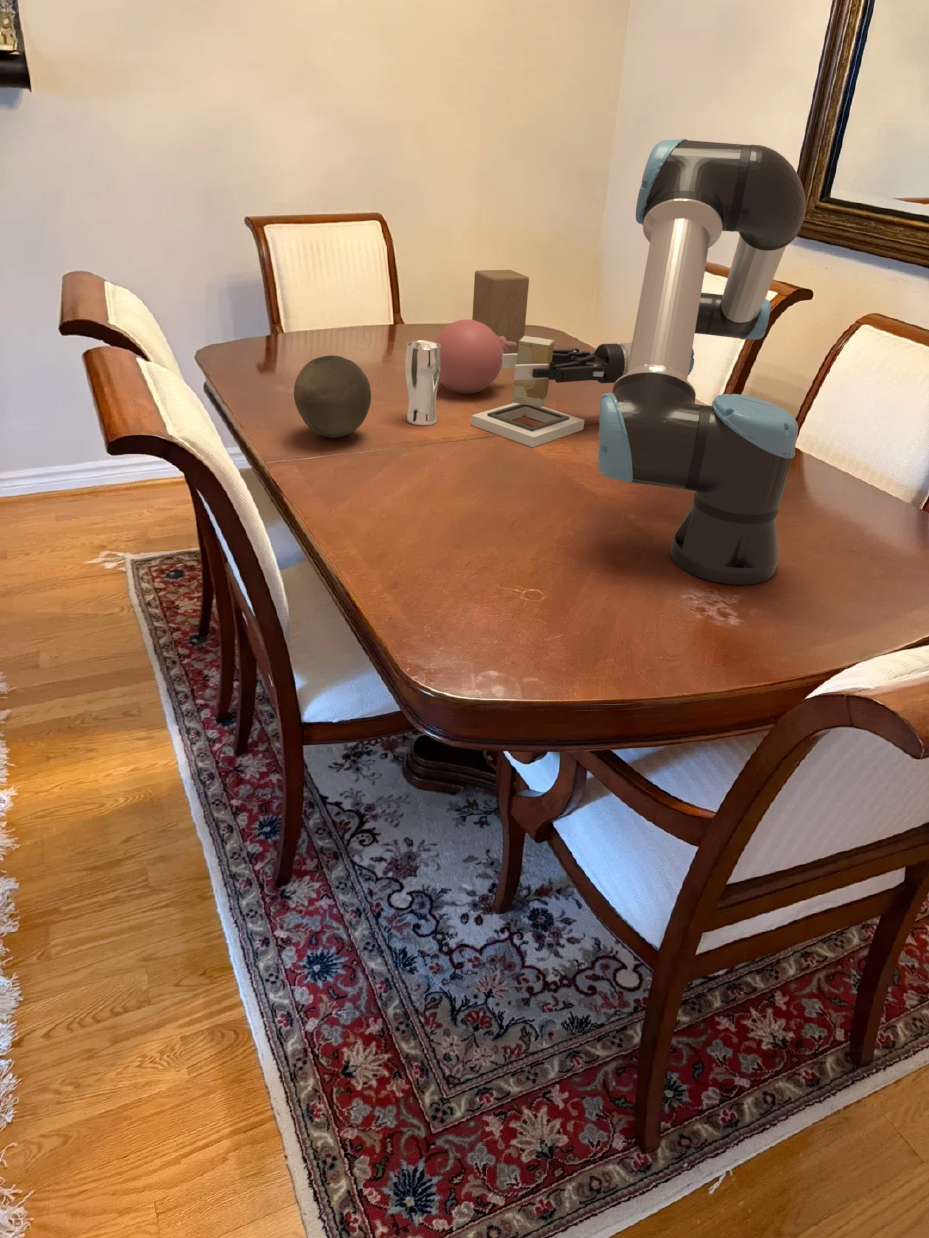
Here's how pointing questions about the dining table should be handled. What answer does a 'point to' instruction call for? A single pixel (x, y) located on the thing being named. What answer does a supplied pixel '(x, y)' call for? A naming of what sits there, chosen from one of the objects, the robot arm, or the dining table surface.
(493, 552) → the dining table surface
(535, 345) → the skincare box
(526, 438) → the socket block
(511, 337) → the wooden block
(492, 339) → the balloon
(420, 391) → the beer glass
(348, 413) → the dark brown ball
